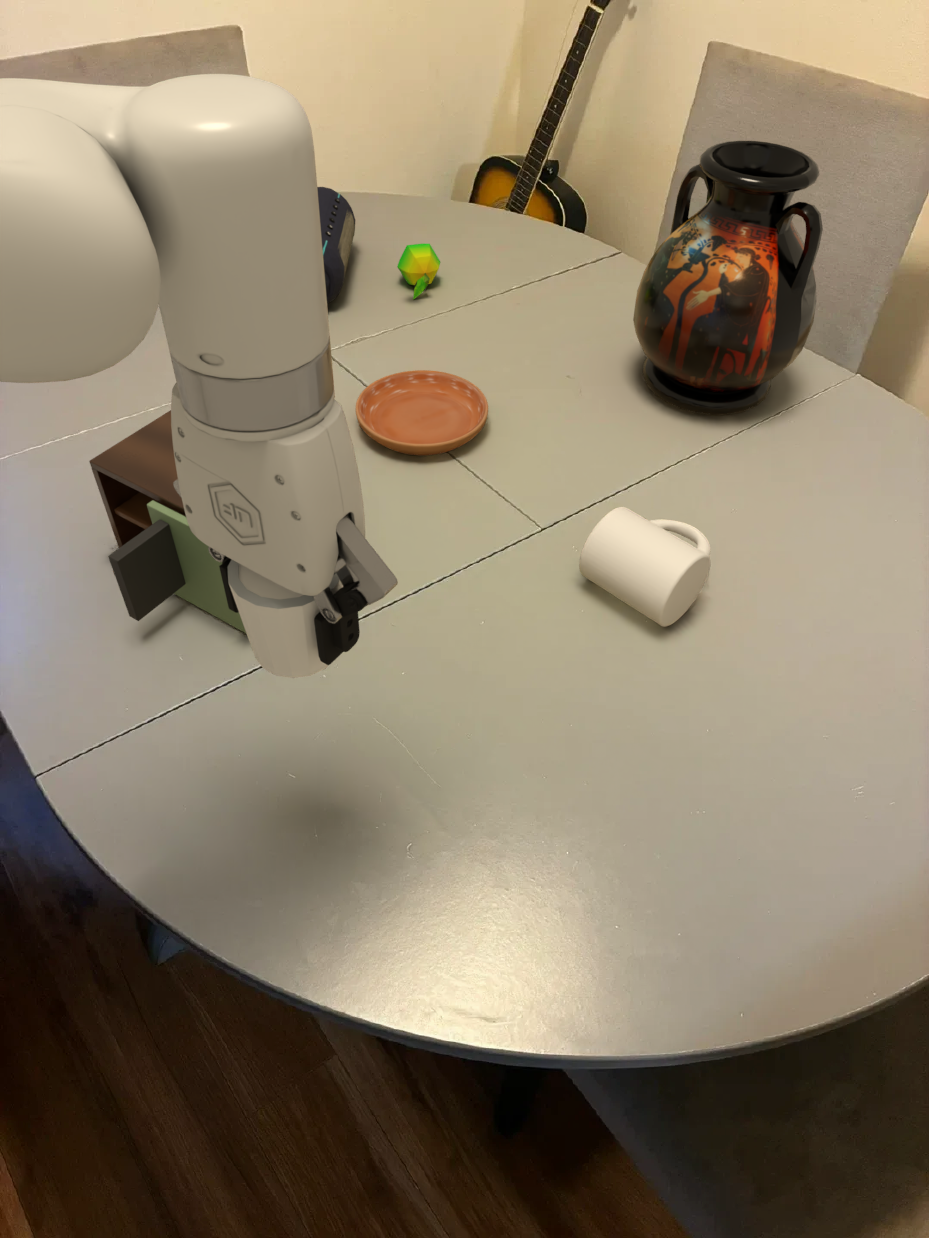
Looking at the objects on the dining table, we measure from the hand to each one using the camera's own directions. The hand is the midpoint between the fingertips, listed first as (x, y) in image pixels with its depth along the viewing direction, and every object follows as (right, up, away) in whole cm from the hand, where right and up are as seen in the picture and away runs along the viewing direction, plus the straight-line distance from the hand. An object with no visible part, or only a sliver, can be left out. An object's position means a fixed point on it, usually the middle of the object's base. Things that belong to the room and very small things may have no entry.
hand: (293, 622), depth 56 cm
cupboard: (-15, +7, +36) cm, 39 cm away
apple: (+4, +50, +78) cm, 93 cm away
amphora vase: (+42, +31, +61) cm, 80 cm away
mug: (+30, +3, +34) cm, 45 cm away
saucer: (+6, +24, +53) cm, 58 cm away
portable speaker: (-11, +52, +79) cm, 95 cm away
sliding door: (-15, -1, +28) cm, 32 cm away
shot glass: (0, -2, +2) cm, 2 cm away
